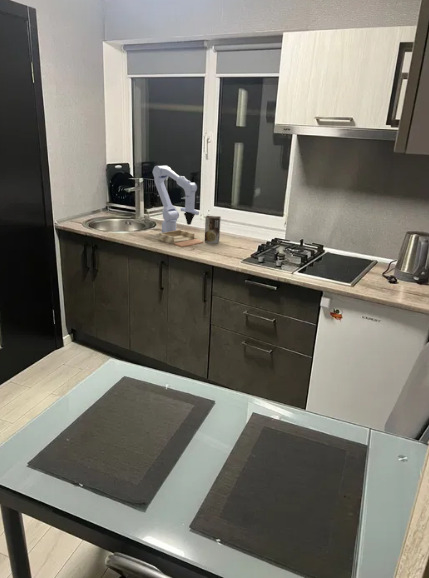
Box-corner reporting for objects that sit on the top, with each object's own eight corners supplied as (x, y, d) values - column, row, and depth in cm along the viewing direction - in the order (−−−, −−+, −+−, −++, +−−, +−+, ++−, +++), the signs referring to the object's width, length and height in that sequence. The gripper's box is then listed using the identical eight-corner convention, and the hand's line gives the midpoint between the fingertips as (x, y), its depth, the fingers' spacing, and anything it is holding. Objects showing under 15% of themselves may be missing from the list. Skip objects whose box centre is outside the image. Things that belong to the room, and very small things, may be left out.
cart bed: (158, 240, 265) (159, 233, 263) (180, 236, 278) (180, 229, 276) (172, 245, 257) (173, 237, 255) (194, 240, 269) (194, 233, 268)
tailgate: (174, 243, 256) (181, 246, 252) (196, 238, 268) (203, 241, 264) (174, 244, 256) (181, 247, 252) (195, 240, 268) (203, 243, 264)
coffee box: (219, 241, 272) (221, 216, 266) (218, 244, 266) (220, 218, 260) (205, 240, 272) (206, 215, 267) (204, 242, 266) (205, 217, 261)
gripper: (177, 201, 266) (176, 222, 271) (193, 205, 257) (192, 227, 262) (185, 200, 271) (184, 221, 276) (201, 204, 262) (200, 226, 267)
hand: (189, 224), depth 270 cm, fingers closed
